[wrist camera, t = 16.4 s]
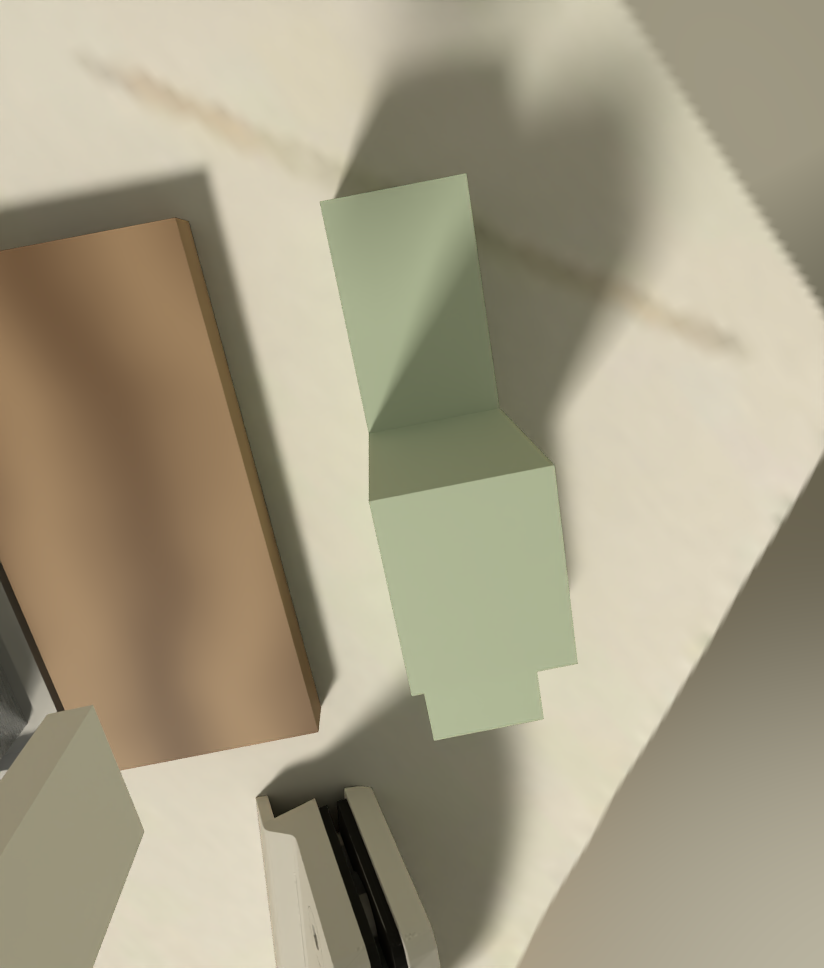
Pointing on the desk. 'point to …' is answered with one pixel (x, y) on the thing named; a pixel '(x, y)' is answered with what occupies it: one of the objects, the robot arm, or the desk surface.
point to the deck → (140, 502)
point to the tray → (23, 670)
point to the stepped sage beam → (449, 463)
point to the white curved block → (341, 889)
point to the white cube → (9, 715)
